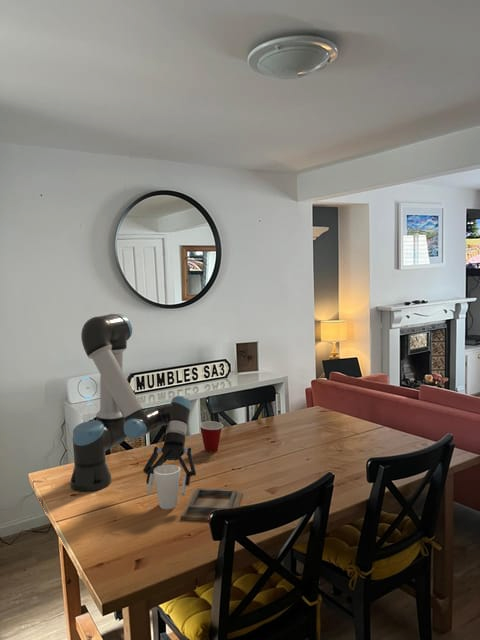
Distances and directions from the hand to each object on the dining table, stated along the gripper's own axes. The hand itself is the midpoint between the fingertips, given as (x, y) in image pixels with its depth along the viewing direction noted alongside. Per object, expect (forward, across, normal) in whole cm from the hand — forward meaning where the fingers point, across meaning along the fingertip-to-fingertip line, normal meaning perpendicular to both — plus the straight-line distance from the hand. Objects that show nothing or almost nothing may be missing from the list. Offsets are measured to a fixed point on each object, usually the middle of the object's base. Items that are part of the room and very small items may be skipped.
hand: (165, 493), depth 181 cm
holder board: (+2, -16, -6) cm, 17 cm away
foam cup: (+2, 0, -6) cm, 6 cm away
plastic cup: (-37, -5, -45) cm, 58 cm away
